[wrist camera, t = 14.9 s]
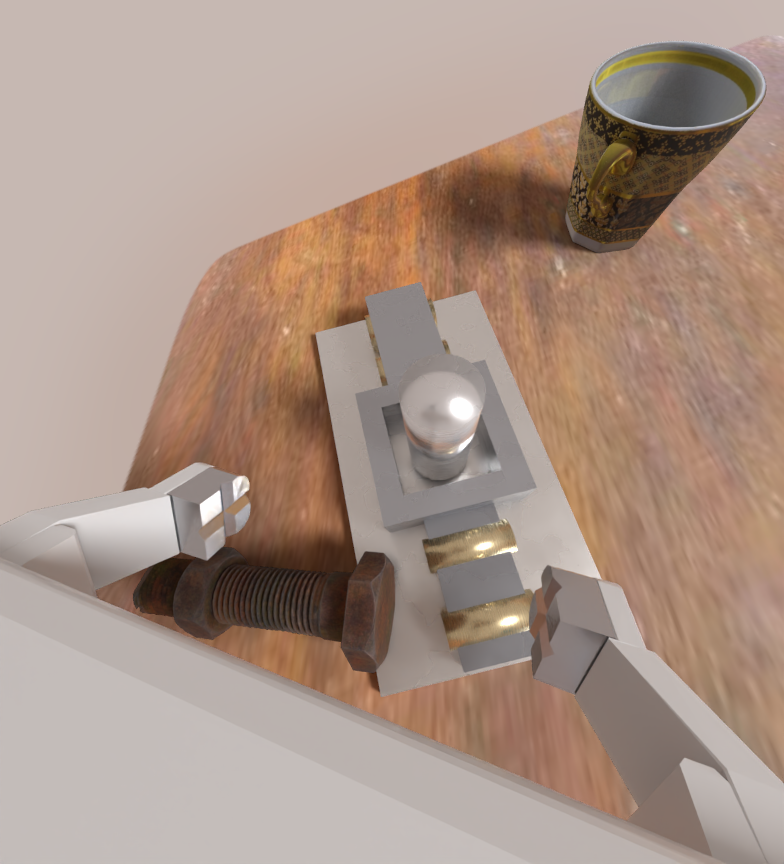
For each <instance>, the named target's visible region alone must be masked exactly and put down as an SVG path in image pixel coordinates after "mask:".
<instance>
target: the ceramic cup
mask: <svg viewBox="0 0 784 864" xmlns="http://www.w3.org/2000/svg"><path fill="white" fill-rule="evenodd" d="M765 94H766V82H765V78H764V76H763V74H762V73H761V71H760V70H759V69H758V68H757V66H756V65H754V64H753V63H752V62H751V61H749V60H748V59H747V58H745V57H743V56H741V55H739V54H737V53H735V52H733V51H731V50H728V49H725V48H721V47H718V46H714V45H710V44H705V43H698V42H687V41H668V42H656V43H649V44H644V45H640V46H636V47H632V48H629V49H627V50H624V51H621V52H619V53H617V54H615V55H613V56H612V57H610V58H609V59H607V60H606V61H604V62H603V63H602V64H601V65H600V66H599V67H598V68H597V70H596V71H595V72H594V74H593V76H592V78H591V81H590V85H589V89H588V93H587V97H586V101H585V106H584V111H583V116H582V122H581V127H580V133H579V139H578V149H577V157H576V161H575V166H574V171H573V177H572V183H571V188H570V194H569V199H568V204H567V211H566V217H565V219H566V224H567V227H568V230H569V233H570V236H571V238H572V241H573V242H574V243H577V244H579V245H581V246H583V247H585V248H588V249H590V250H592V251H594V252H596V253H601V252H610V251H618V250H625V249H629V248H631V247H633V246H634V245H635V244H636V243H637V242H638V241H639V239H640V238H641V237H642V236H643V235H644V234H645V233H646V232H647V230H648V229H649V228H650V227H651V226H652V225H653V223H654V222H655V221H656V220H657V219H658V217H659V216H660V215H661V214H662V213H663V211H664V210H665V209H666V208H667V207H668V206H669V204H670V203H671V202H672V201H673V200H674V199H675V197H676V196H677V195H678V194H679V193H680V192H681V191H682V190H683V189H684V187H685V186H686V185H687V184H688V183H690V182H691V181H692V180H693V179H694V178H695V177H696V176H697V175H698V174H699V173H700V172H701V171H702V170H703V169H704V168H705V167H706V166H707V165H708V164H709V163H710V162H711V161H712V160H713V159H714V158H715V157H716V156H717V154H718V153H719V152H720V151H721V150H722V149H723V148H724V147H725V146H726V144H727V143H728V142H729V141H730V140H731V139H732V138H733V137H734V135H735V134H736V133H737V132H738V131H739V130H740V129H741V127H742V126H743V125H744V124H745V123H746V121H747V120H748V119H749V118H750V117H751V115H752V114H753V113H754V112H755V111H756V109H757V108H758V107H759V106H760V104H761V103H762V101H763V99H764V97H765Z"/></svg>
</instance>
